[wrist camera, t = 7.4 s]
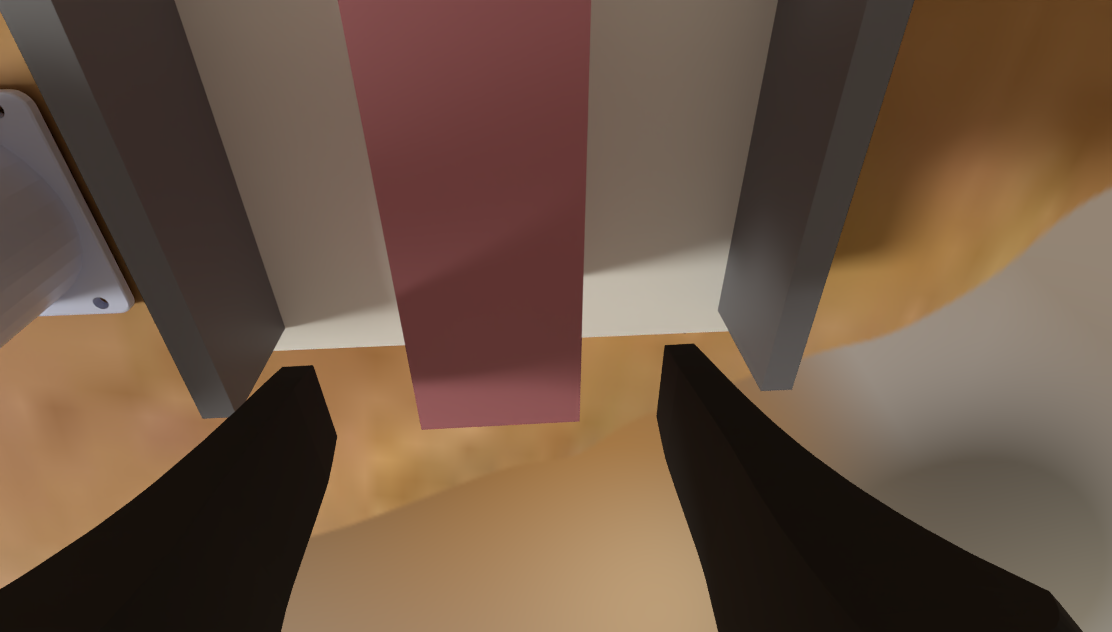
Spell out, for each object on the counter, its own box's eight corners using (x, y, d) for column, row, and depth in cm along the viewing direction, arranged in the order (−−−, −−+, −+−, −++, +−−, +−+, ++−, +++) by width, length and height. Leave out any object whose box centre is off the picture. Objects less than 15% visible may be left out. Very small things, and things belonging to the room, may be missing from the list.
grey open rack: (282, 319, 23) (214, 441, 18) (134, -119, 15) (-75, -140, 10) (722, 302, 24) (784, 412, 19) (806, -118, 16) (957, -136, 11)
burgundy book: (446, 284, 20) (421, 429, 14) (401, -54, 14) (330, -35, 9) (559, 279, 20) (579, 421, 15) (559, -55, 15) (592, -37, 9)
